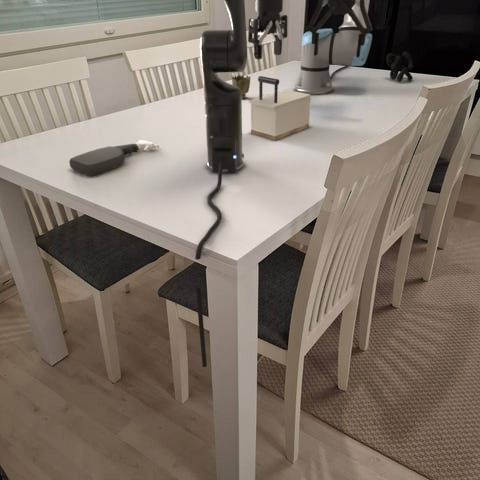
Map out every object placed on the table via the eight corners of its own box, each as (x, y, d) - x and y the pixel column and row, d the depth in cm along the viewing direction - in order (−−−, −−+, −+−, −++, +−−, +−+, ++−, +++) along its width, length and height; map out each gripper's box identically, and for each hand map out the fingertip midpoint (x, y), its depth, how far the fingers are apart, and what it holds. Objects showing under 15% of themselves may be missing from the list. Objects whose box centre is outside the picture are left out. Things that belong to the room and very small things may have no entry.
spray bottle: (67, 168, 120) (139, 144, 136) (91, 178, 114) (163, 151, 130) (65, 157, 118) (137, 134, 134) (89, 167, 112) (162, 142, 128)
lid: (274, 109, 131) (275, 81, 126) (249, 103, 137) (249, 76, 133) (310, 97, 141) (312, 71, 137) (285, 92, 147) (286, 67, 143)
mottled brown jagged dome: (228, 98, 178) (228, 78, 173) (237, 94, 183) (237, 74, 179) (245, 101, 175) (245, 79, 170) (253, 96, 180) (253, 75, 176)
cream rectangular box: (275, 140, 136) (276, 108, 131) (250, 133, 142) (250, 102, 137) (308, 127, 146) (310, 97, 141) (284, 121, 152) (285, 92, 147)
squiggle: (400, 92, 202) (376, 71, 205) (417, 76, 202) (392, 56, 205) (405, 81, 191) (380, 59, 194) (423, 64, 191) (397, 42, 194)
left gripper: (275, -9, 127) (273, 52, 135) (240, -7, 118) (241, 59, 126) (296, -9, 122) (293, 54, 131) (262, -6, 113) (261, 62, 122)
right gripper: (299, -20, 134) (296, 56, 145) (385, -20, 126) (375, 59, 138) (305, -21, 140) (301, 52, 151) (387, -21, 132) (377, 55, 144)
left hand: (268, 56), depth 128 cm, fingers open, 8 cm apart
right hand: (336, 55), depth 144 cm, fingers open, 13 cm apart
